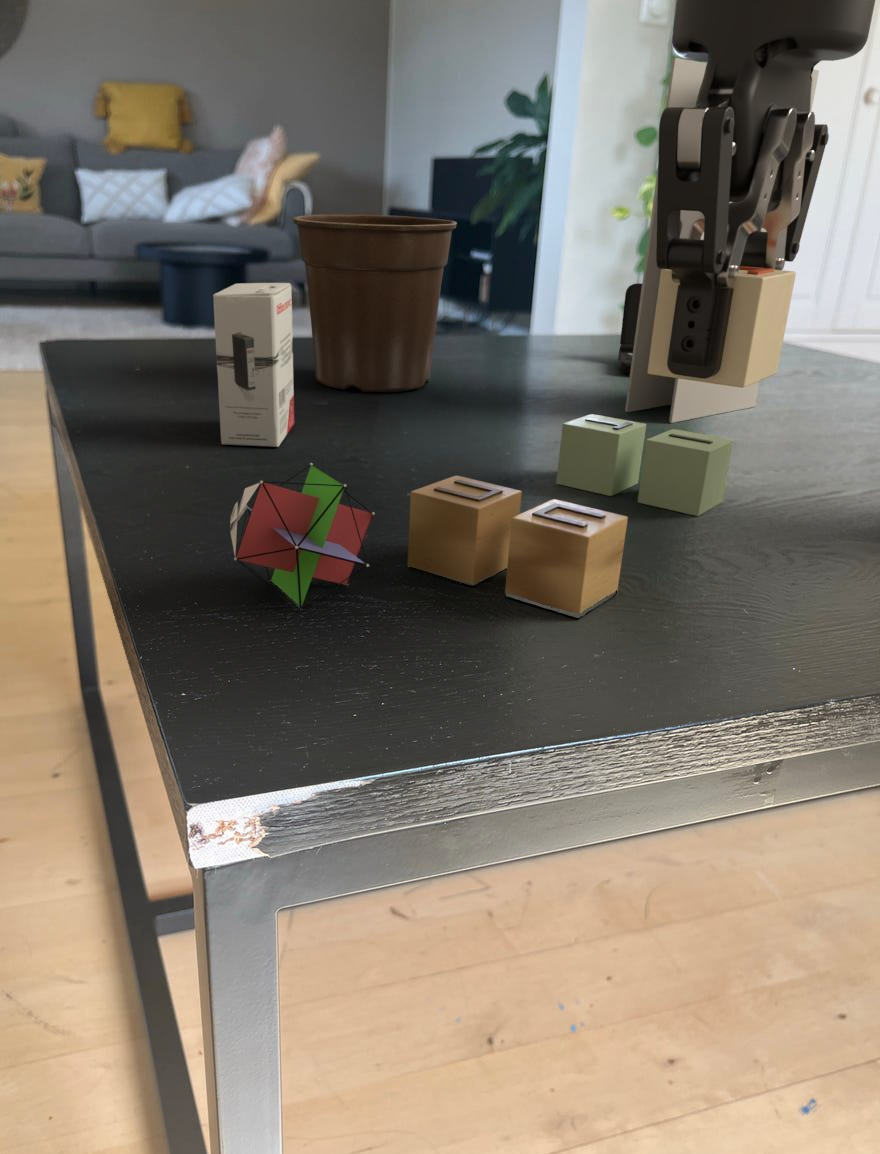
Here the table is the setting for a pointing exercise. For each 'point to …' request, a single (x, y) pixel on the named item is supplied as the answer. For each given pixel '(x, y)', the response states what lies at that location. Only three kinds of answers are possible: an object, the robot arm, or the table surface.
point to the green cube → (600, 454)
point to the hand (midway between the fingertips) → (714, 365)
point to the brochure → (644, 387)
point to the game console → (629, 326)
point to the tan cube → (461, 528)
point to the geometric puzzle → (301, 533)
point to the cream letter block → (734, 326)
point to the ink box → (254, 363)
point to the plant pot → (373, 297)
